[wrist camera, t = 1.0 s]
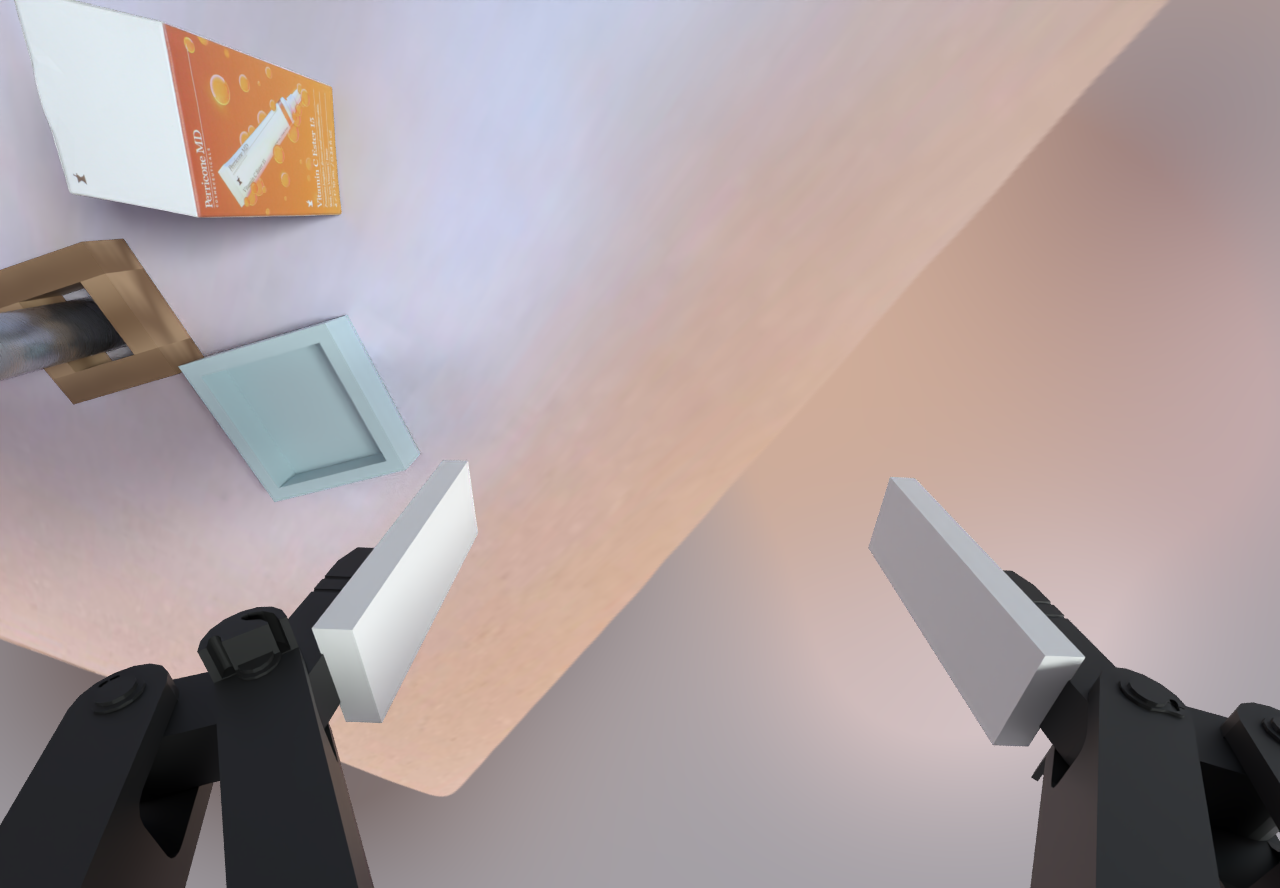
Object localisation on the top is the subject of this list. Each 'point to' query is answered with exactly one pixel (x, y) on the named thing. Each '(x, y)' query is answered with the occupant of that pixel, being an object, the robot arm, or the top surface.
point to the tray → (305, 409)
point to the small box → (178, 117)
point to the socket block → (122, 301)
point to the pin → (53, 336)
